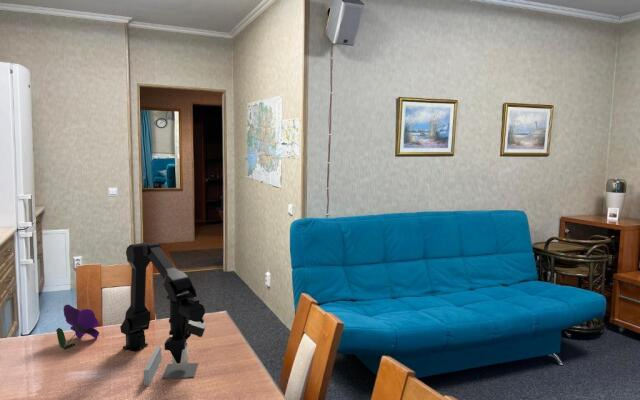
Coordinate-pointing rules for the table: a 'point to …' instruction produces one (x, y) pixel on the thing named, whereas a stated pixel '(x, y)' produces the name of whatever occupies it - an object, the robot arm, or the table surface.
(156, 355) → the wall
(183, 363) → the cream rounded cone
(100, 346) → the table surface
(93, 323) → the flower
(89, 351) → the table surface
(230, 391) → the table surface
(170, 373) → the mat
